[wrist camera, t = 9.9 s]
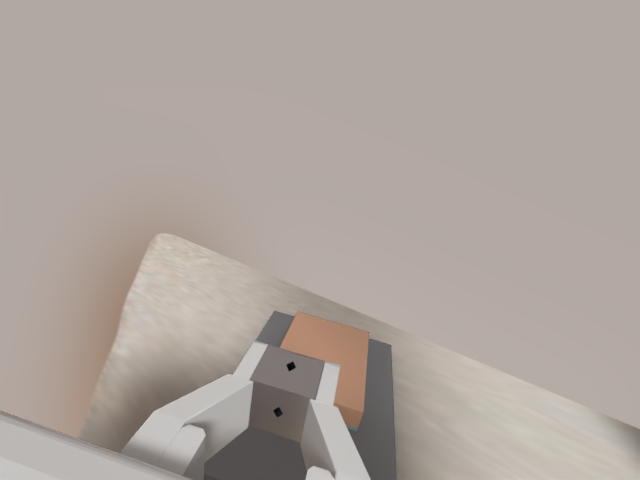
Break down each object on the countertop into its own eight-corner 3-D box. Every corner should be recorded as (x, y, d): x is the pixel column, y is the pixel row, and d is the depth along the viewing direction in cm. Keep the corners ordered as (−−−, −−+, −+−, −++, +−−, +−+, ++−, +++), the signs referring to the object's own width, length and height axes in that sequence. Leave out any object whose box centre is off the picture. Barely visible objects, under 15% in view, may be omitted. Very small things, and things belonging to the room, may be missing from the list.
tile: (356, 431, 23) (364, 347, 33) (363, 412, 23) (369, 332, 32) (260, 399, 24) (294, 327, 34) (263, 380, 24) (297, 311, 33)
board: (387, 355, 35) (391, 345, 34) (391, 559, 18) (399, 545, 17) (272, 321, 36) (274, 310, 36) (178, 479, 19) (178, 464, 19)
